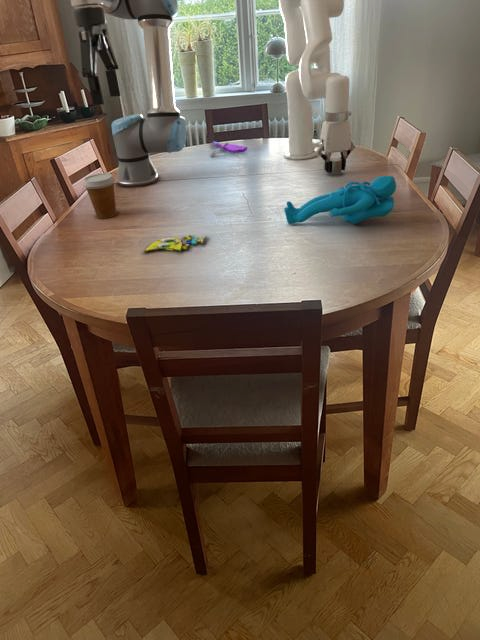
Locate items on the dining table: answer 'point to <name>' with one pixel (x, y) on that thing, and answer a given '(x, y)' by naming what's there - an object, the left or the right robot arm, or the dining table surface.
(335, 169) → the canister
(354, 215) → the toy
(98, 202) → the disposable coffee cup
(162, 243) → the toy
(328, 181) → the dining table surface
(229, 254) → the dining table surface
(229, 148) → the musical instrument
